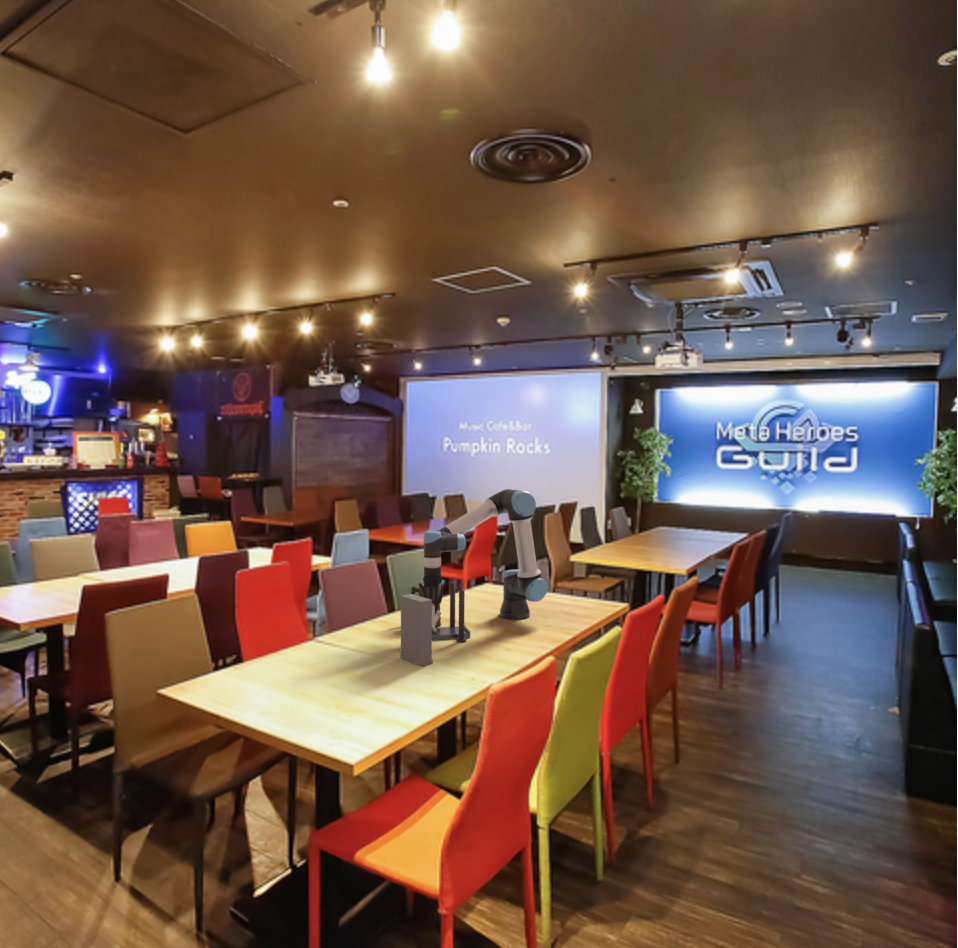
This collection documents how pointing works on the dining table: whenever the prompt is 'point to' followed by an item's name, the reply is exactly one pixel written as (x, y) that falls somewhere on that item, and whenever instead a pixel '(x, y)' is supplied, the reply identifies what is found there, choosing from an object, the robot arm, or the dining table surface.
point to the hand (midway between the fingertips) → (432, 619)
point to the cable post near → (461, 617)
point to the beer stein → (414, 590)
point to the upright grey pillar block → (416, 629)
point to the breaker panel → (449, 633)
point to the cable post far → (452, 604)
